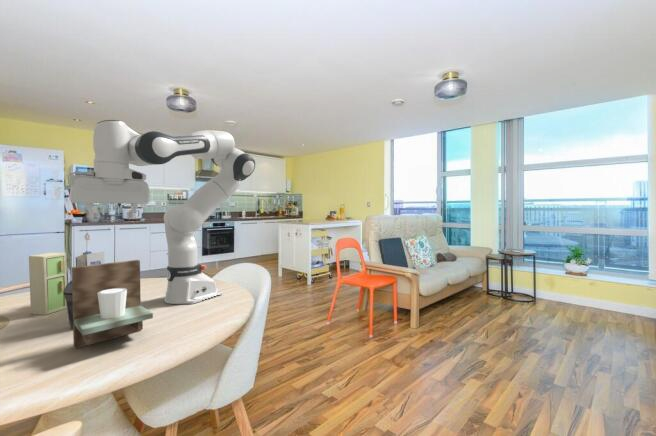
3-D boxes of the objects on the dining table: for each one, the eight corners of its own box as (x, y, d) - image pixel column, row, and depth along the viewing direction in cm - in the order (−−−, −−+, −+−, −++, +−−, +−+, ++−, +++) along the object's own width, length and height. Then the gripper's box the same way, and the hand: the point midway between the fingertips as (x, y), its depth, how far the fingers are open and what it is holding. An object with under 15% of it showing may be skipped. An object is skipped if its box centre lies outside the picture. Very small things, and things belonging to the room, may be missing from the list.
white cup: (91, 317, 84) (91, 292, 84) (116, 309, 90) (116, 286, 90) (108, 321, 81) (108, 295, 81) (133, 312, 88) (132, 288, 88)
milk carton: (87, 303, 120) (86, 253, 120) (75, 301, 122) (74, 252, 122) (105, 298, 127) (104, 250, 126) (94, 297, 129) (93, 250, 128)
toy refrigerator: (46, 315, 107) (44, 256, 106) (29, 314, 108) (28, 255, 108) (69, 308, 115) (68, 253, 114) (54, 306, 116) (52, 252, 116)
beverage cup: (75, 322, 101) (74, 262, 100) (99, 322, 102) (97, 262, 101) (58, 331, 94) (56, 267, 93) (83, 331, 94) (81, 267, 94)
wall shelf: (138, 329, 96) (137, 259, 95) (153, 340, 88) (151, 264, 87) (73, 346, 84) (71, 267, 83) (83, 361, 76) (81, 273, 75)
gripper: (70, 169, 84) (71, 219, 84) (151, 175, 99) (152, 217, 100) (65, 171, 88) (67, 219, 88) (144, 176, 103) (145, 217, 104)
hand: (113, 218), depth 94 cm, fingers open, 8 cm apart
